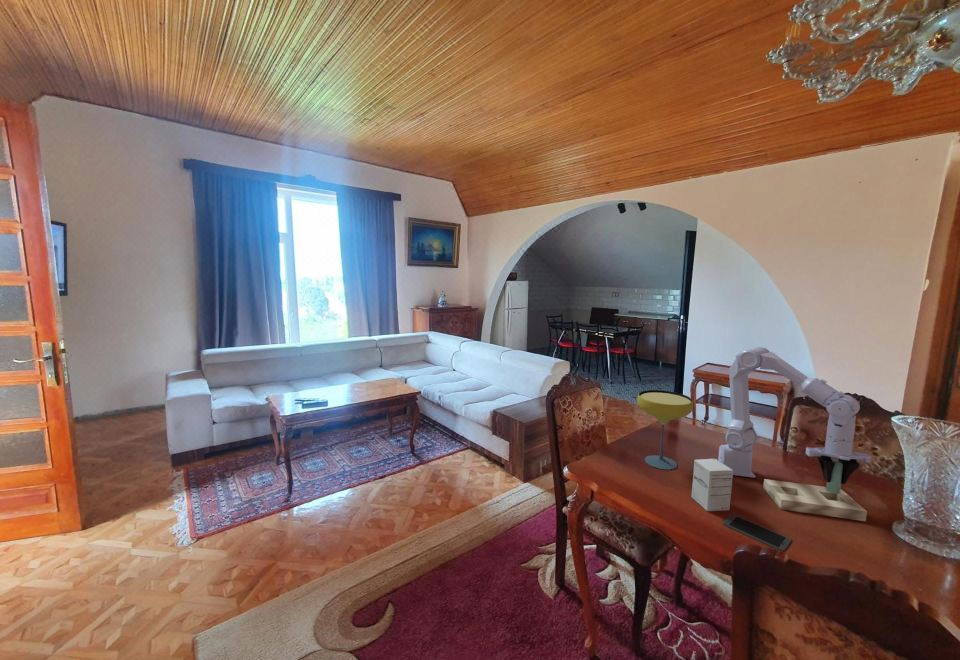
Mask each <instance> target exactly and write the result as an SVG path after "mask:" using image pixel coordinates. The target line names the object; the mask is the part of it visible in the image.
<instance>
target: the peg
mask: <svg viewBox="0 0 960 660" xmlns="http://www.w3.org/2000/svg"><path fill="white" fill-rule="evenodd" d="M832 461H833V462H834V463H835V465H834V468H833V470H832V476H831V481H830V482H826V486H825V487H826V490H827V491H829V492H832V493H836V494H839V493H840V489H841V487H842V483H841V479H842V470H843V463H842V462H841V461H839V459H837V460H836V459H832Z"/></svg>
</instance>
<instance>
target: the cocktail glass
mask: <svg viewBox="0 0 960 660" xmlns="http://www.w3.org/2000/svg"><path fill="white" fill-rule="evenodd" d="M636 400H637V401H636V402H637V405H638V407H639V408H640V409H641V410H642V411H643V412H645V413H646V414H648V415H650V416H651V417H654V418H655V419H657V421H658V422H659V423H660V424H661V438H660V447H659V448H660V449H659V450H660V451H659V455H656V454H653V455H647V456H646V457H645V458H644V461H645V463H646V464H647V465H648V466H650V467H652V468H654V467H655V469H657V468H658V470H662V469H663V470H665V471H671V469H672V470H675V469H677V468H678V464H677V462H676V461H674V460H673V459H672V458H670V457H666V456H664V453H663V452H664V451H663V450H664V431H665V425H667V424H668V423H669V422H670V421H673V420H676V419H681V418H684V417H686V416H689V415H690V414H691V413H692V412H693V409H694V400H693V399H692V398H691V397H690V396H688V395H685V394H683V393H678V392H676V391H669V390H659V389H650V390H643V391H640V392H638V395H637V398H636ZM669 458H670V459H669ZM663 470H662V471H663Z"/></svg>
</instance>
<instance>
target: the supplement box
mask: <svg viewBox="0 0 960 660" xmlns="http://www.w3.org/2000/svg"><path fill="white" fill-rule="evenodd" d="M692 474H693V477H692V486H691V487H692V488H691V499H693V501H695V502H697V503H698V504H699V505H700V506H701V507H702V508H703V509H704V510H705V511H706V512H717V511H718V512H719V511H730V508H731V507H730V506H731V497H732V496H731V495H732V490H733V489H732V486H733V477H734V475H733V470H732V469H730V468H729V467H727V466H726V465H724V464H723V463H721V462H720V461H718V459H717V458H706V459H705V458H702V459H701V458H700V459H694V462H693V473H692Z"/></svg>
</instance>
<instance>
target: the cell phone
mask: <svg viewBox="0 0 960 660" xmlns="http://www.w3.org/2000/svg"><path fill="white" fill-rule="evenodd" d="M721 524H722V525H723V526H725V527H727V528H728V529H730V530H733V531H735V532H737V533H740V534H742V535H744V536H746V537H748V538H750V539H753V540H754V541H757V542H759V543H761V544H762V545H765V546H767V547H770V548H772V549H774V548H775V549H774V550H776V549H778V550H777V551H779V550H781V551H783V552H786V550H787V549H789V546H790V545H791V544H792V539H791V538H790V537H788V536H786V535H783V534H782V533H779V532H777V531H774V530H771V529H769V528H767V527H765V526H762V525H761V524H758V523H756V522H754V521H751V520H748V519H746V518H743V517H742V516H740V515H736V514H735V513H732V514H730V515H729V516H728V517H726V518H725V520H723V521H722V523H721ZM781 551H780V552H781ZM783 552H782V553H783Z"/></svg>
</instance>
